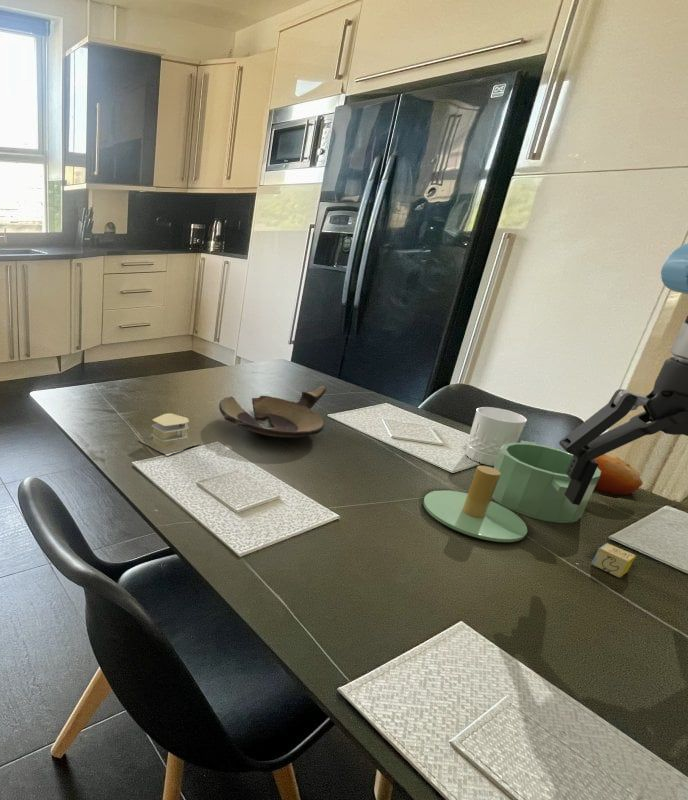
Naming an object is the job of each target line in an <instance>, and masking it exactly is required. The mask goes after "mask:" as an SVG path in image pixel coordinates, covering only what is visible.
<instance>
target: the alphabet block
mask: <svg viewBox="0 0 688 800" xmlns="http://www.w3.org/2000/svg"><path fill="white" fill-rule="evenodd" d="M636 557H637V555H636V554H634V553H632V552H630V551H626V550H624V549H622V548H619V547H617V546H615V545H613V544H610V543H608V542H607V543H605V544H603V545H602V546H601V547H599V548H598V550H597V552H596V554H595V555H594V557H593V559H592V561H591V563H590V564H591V566H594V567H595V568H598V569H600V570H602V571H604V572H606V573H608V574H610V575H612V576H615V577H617V578H619V579H620V578H622V577H623V576H625V574H627V573H628V571H629V570H630V568H631V566H632V564H633V563H634V561H635V559H636Z"/></svg>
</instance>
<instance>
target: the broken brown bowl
mask: <svg viewBox="0 0 688 800" xmlns="http://www.w3.org/2000/svg"><path fill="white" fill-rule="evenodd" d="M327 389H328V388H327V387H326V386H325V385H322V386H319V387H318V388H316V389H314V390H312V391H302V392H301V397H300V398H299V400H298V402H295V401H291V400H286V399H283V398H279V397H273V396H269V395H260V396H259V397H252V398H251V403H252V409H253V413H254V417H253V416H251V415H250V414H249V413H248V412H247V411H246V409H244V408H243V407H242V406H241V404H240V403H238V401H237V400H236V398H234V397H233V396H228V397H224V398H223V399H221V400H220V401H219V403H218V404H219V405H218V409H219V412H220V414H221V415H222V416H223V419H224V420H225V421H228V422H230V423H233V424H235V425H236V426H237V427H240V428H243V429H245V430H248V431H250V432H252V433H255V434H258V435H262V436H267V437H273V438H301V437H305V436H306V437H307V436H312V435H313V436H314V435H317V434H319V433H320V432H323V430H324V428H325V421H324V418H323V417H322V416H321V415H320V414H319V413H317V412H316V411H314V410H313V409H312V408H313V407H314V406H315V405H316V404H317V402H318V401H319V400H320V399H321V398H322V397H323V396H324V394H325V393H326V391H327ZM265 420H269V423H270V424H271V425H272V427H271V428H267V427H263V426H264V425H265V423H264V424H260V423H259V422H258V421H265Z"/></svg>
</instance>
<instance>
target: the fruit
mask: <svg viewBox="0 0 688 800" xmlns="http://www.w3.org/2000/svg"><path fill="white" fill-rule="evenodd" d="M594 460H595V461H596V462H597V463H598V464H599V465H598V468H599V469H600V470H601V474H600V478H599V480H598V482H597V484H596V486H595V488H594V491H597V492H601V496H605V497H610V498H613V499H619V498H620V496H628V495H630V494H632V493H634V492H636V491H638V489H640V487H642V485H643V483H644V482H643V480H642V478H641V477H640V472H639V471H638V470H637V469H635V468H634V467H633V466H631V464H629V463H628V462H627V461H625V460H624V459H621V458H620V457H618V456H616V455H611V454H607V453H606V454H603V455H601V456H599V457H597V458H595V459H594ZM615 495H616V496H615Z"/></svg>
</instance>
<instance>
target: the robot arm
mask: <svg viewBox="0 0 688 800" xmlns="http://www.w3.org/2000/svg"><path fill="white" fill-rule="evenodd" d="M660 276H661V277H660V278H661V282H662V284H663V286H665V288H667V289H668V290H670V291H672V292H675V293H680V294H685V295H688V242H686V243H684V244H682V245H680V246H679V247H677V248H676V249H674V250H673V251H672V252H671V253H670V254H669V255H668V256H667V257H666V259H665V260H664V262H663V264H662V266H661V270H660ZM669 353H670V354H671V355H673V356H671V357H668V358H667V359H665V360H664V362H663V364H662V367H661V368H660V370H659V373H658V375H657V377H656V379H655V381H654V385H653V388H652V390H651V391H650V392H649V393H648V394H646V395H641V394H637V393H632V392H630V391H629V390H626V389H624V388H620V389H617V390H615V392H614V393H613V395H612V396H611V398H610V399H609V400H608V402H607V403H606V404H605V405H604V406H603V407H601V408H600V409H598V411H596V412H595V413H594V414H593V415H591V416H590V417H589V418H587V419H586V420H585V421H583V422H582V423H581V424H580V425H579V426H577V427H576V428H575V429H574V430H572V431H571V432H570V433H568V434H566V436H564V437H563V438H562V439H560V441H559V443H558V444H559V446H560V447H561V448H562V449H563V450H564V451H566V452H568V453H570V454H573V457H572V460H571V462H570V464H569V467H568V469H567V475H568V476H569V477H570V478H571V481H570V483H569V485H568V488H567V490H566V492H565V496H566V497H567V498H568V499H569V500H570V502H571V503H572V504H576V505H580V503H581V501H582V499H583V497H584V494H585V492H586V490H587V488H588V486H589V484H590V482H591V480H592V477H593V475H594V473H595V471H596V469H597V467H598V465H599V464H598V463H597V462H596V461H595V460H594V459H595V458H597V457H599V456H601V455H603V454H606V455H607V453H610V452H612V451H614V450H617V449H619V448H621V447H623V446H625V445H627V444H630V443H632V442H634V441H636V440H638V439H640V438H642V437H644V436H652V435H655V434H657V433H659V432H663V433H664V434H665V435H666V434H667V435H673V436H681V435H683V436H686V437H688V315H687V316H686V317H685V320H684V321H683V324H682V325H681V327H680V329H679V331H678V333H677V335H676V338H675V340H674V341H673V344H672V345H671V348H670V349H669ZM641 406H642V408H643V410H644V411H643V412H640V413H638V414H635V415H634V416H631V418H629V420H628V421H626V422H624V423H622V424H620V425H618V426H616V427H614V428H612V429H610V428H611V427H613V426H614V425H616V424H617V423H618V422H619V421H621V420H622V419H624V418H625V417H626V416H627V415H628V414H629V413H630V412H631V411H637V409H638V408H639V407H641ZM609 429H610V430H609ZM607 430H608V431H607Z"/></svg>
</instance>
